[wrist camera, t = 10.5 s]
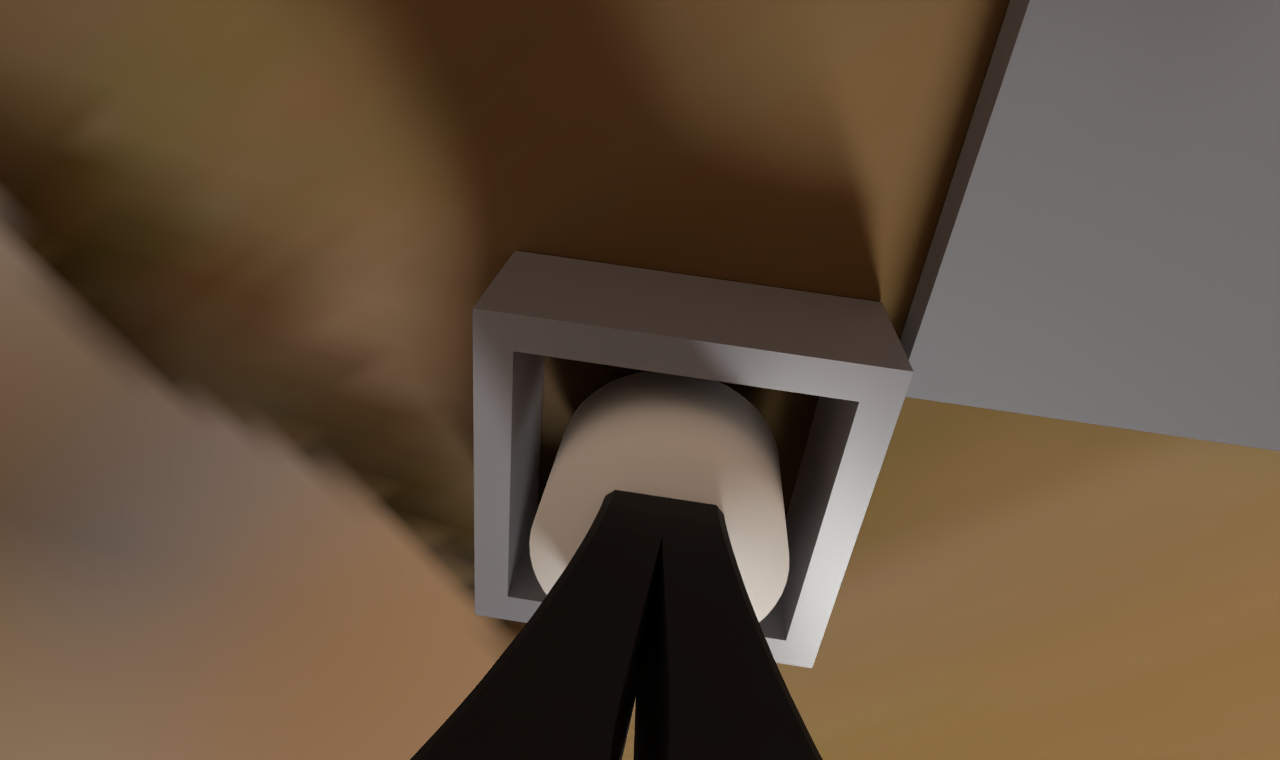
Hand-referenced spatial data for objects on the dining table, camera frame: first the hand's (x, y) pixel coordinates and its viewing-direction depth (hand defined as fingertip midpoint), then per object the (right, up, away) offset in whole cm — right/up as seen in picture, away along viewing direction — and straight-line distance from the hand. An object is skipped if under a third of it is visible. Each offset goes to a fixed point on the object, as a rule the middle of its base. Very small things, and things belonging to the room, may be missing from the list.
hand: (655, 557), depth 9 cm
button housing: (0, +1, +3) cm, 3 cm away
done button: (0, +1, +2) cm, 2 cm away
